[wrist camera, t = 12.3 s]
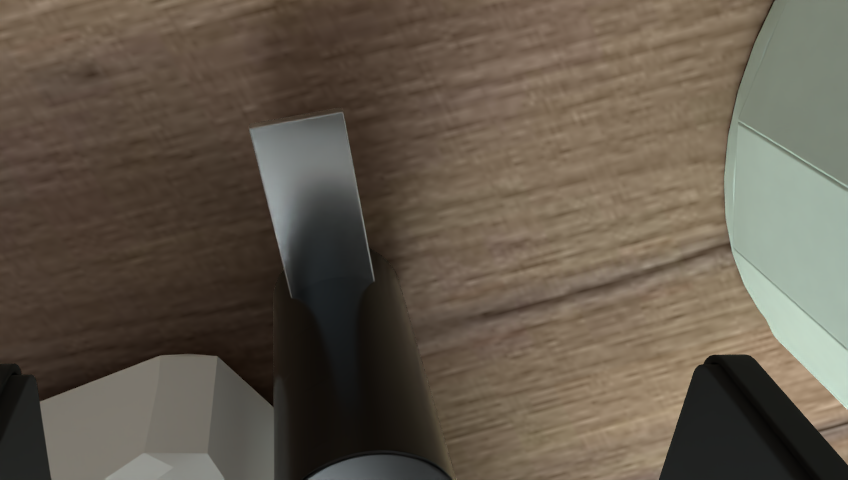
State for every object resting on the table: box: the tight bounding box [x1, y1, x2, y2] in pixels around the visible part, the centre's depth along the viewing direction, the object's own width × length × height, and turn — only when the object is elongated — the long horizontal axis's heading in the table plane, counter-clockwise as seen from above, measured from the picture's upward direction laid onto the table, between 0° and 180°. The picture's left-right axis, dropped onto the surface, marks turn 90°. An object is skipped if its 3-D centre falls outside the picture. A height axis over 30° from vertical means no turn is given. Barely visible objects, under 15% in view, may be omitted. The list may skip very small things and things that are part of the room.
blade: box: [249, 107, 456, 480], centre depth 16 cm, size 10×3×7 cm, turn 7°
